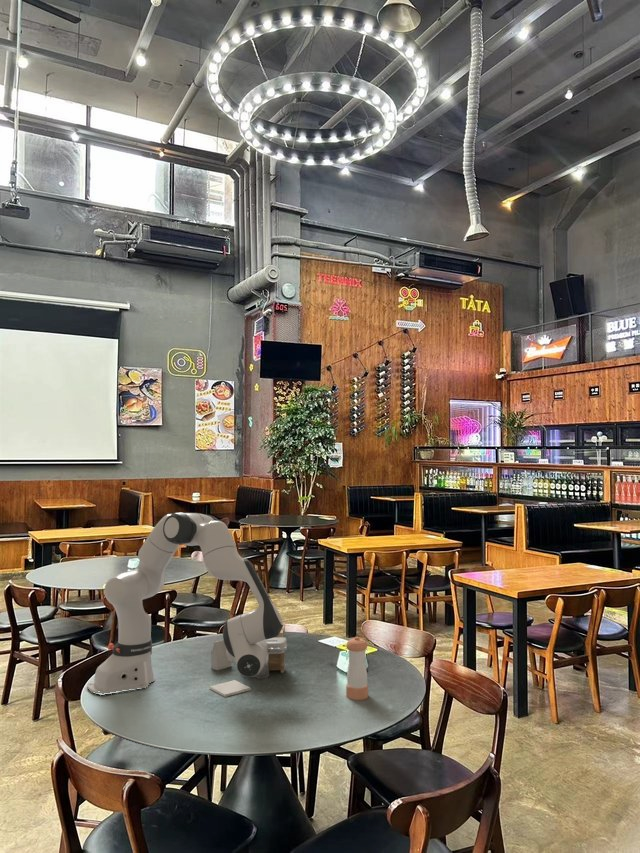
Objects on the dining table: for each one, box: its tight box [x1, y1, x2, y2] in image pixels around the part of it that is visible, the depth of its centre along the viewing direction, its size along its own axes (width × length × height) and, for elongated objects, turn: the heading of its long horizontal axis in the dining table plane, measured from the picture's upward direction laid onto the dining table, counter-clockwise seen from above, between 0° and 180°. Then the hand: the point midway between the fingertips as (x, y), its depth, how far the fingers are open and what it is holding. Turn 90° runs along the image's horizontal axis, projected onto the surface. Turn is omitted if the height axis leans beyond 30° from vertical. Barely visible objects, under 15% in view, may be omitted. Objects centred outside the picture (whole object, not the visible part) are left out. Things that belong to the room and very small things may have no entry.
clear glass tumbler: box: [253, 654, 270, 680], centre depth 224 cm, size 6×6×11 cm
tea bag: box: [210, 639, 232, 671], centre depth 234 cm, size 4×7×10 cm, turn 139°
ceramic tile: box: [209, 679, 251, 698], centre depth 210 cm, size 10×10×1 cm
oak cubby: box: [269, 623, 286, 674], centre depth 225 cm, size 12×16×16 cm
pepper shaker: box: [345, 636, 369, 701], centre depth 204 cm, size 7×7×19 cm
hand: (258, 639), depth 212 cm, fingers open, 8 cm apart
